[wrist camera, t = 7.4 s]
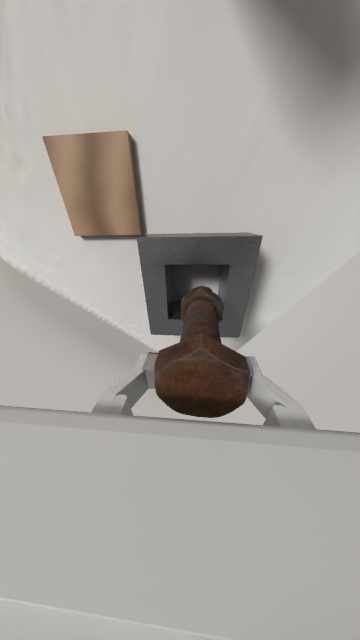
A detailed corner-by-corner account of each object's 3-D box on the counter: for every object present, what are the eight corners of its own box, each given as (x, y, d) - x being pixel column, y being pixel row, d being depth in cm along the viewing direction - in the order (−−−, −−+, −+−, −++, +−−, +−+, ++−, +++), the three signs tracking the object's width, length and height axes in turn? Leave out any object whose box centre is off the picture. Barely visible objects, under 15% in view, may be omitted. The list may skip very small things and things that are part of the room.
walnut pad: (130, 135, 18) (127, 130, 17) (142, 234, 23) (141, 234, 22) (49, 140, 19) (42, 136, 18) (79, 235, 24) (75, 235, 23)
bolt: (217, 314, 23) (238, 426, 10) (183, 313, 23) (158, 416, 10) (222, 274, 20) (260, 355, 7) (182, 273, 20) (148, 348, 7)
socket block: (247, 232, 22) (262, 235, 17) (231, 317, 29) (239, 337, 24) (149, 234, 23) (136, 237, 18) (158, 315, 30) (150, 334, 25)
